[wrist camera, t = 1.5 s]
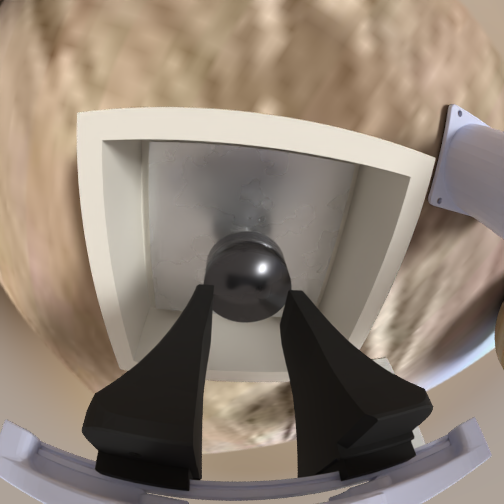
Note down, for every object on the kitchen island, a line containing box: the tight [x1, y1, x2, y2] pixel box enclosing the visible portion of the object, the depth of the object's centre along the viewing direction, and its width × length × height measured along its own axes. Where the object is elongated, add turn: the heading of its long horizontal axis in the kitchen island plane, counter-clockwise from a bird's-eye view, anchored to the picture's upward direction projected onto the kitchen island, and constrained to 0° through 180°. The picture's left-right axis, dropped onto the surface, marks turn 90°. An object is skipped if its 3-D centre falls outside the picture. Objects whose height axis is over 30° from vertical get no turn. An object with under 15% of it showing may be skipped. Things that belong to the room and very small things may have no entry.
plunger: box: [149, 140, 355, 323], centre depth 15 cm, size 11×11×5 cm
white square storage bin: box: [77, 107, 436, 382], centre depth 15 cm, size 15×15×6 cm
